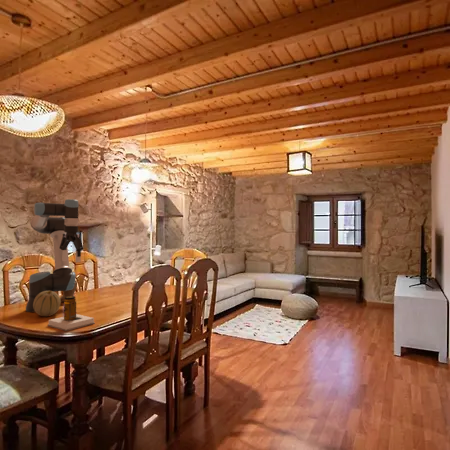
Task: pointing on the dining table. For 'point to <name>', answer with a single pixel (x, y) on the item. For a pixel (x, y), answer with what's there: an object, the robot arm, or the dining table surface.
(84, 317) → the stand
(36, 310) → the cantaloupe
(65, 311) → the condiment
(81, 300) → the dining table surface
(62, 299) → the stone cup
